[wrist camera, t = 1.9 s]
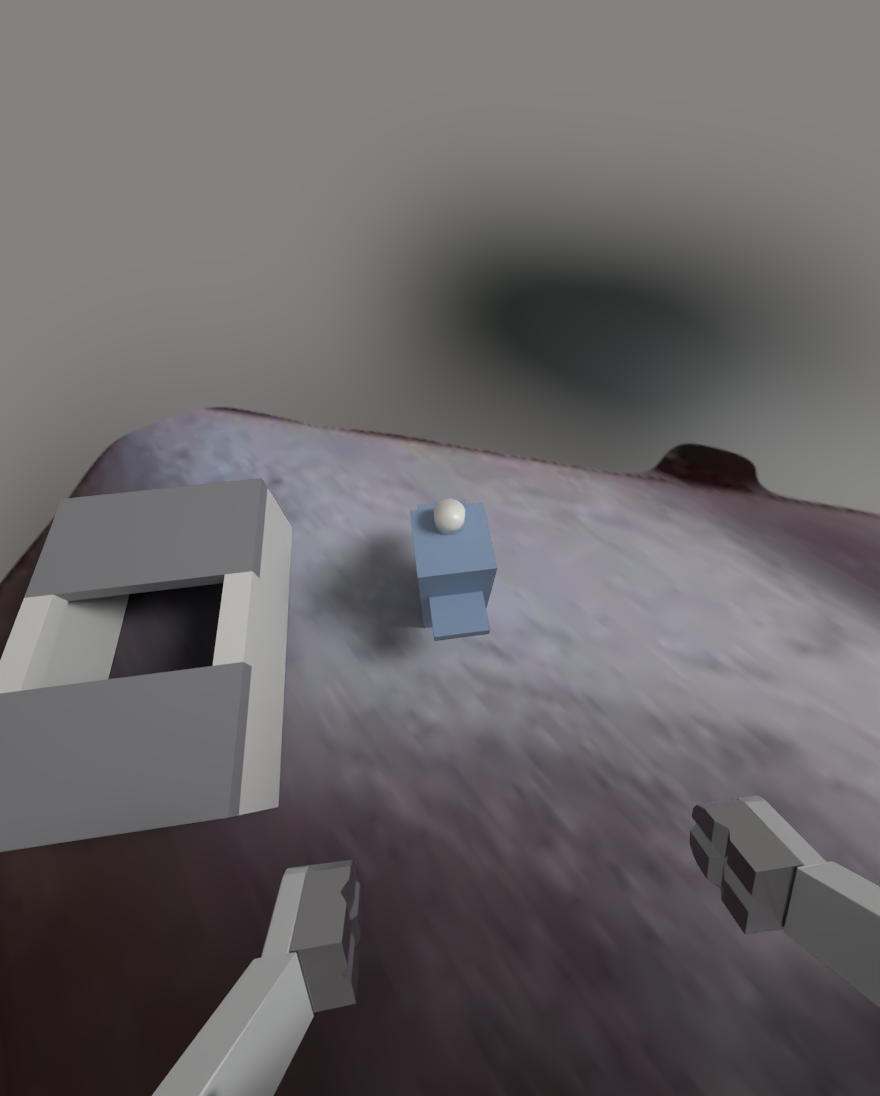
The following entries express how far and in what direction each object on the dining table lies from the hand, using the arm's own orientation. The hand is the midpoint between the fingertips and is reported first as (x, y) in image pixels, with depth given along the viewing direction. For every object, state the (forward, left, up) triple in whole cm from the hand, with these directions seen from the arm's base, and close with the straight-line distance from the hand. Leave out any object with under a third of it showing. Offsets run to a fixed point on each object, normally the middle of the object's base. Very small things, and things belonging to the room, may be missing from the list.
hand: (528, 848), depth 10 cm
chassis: (+17, -10, -15) cm, 25 cm away
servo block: (0, -12, -15) cm, 19 cm away
